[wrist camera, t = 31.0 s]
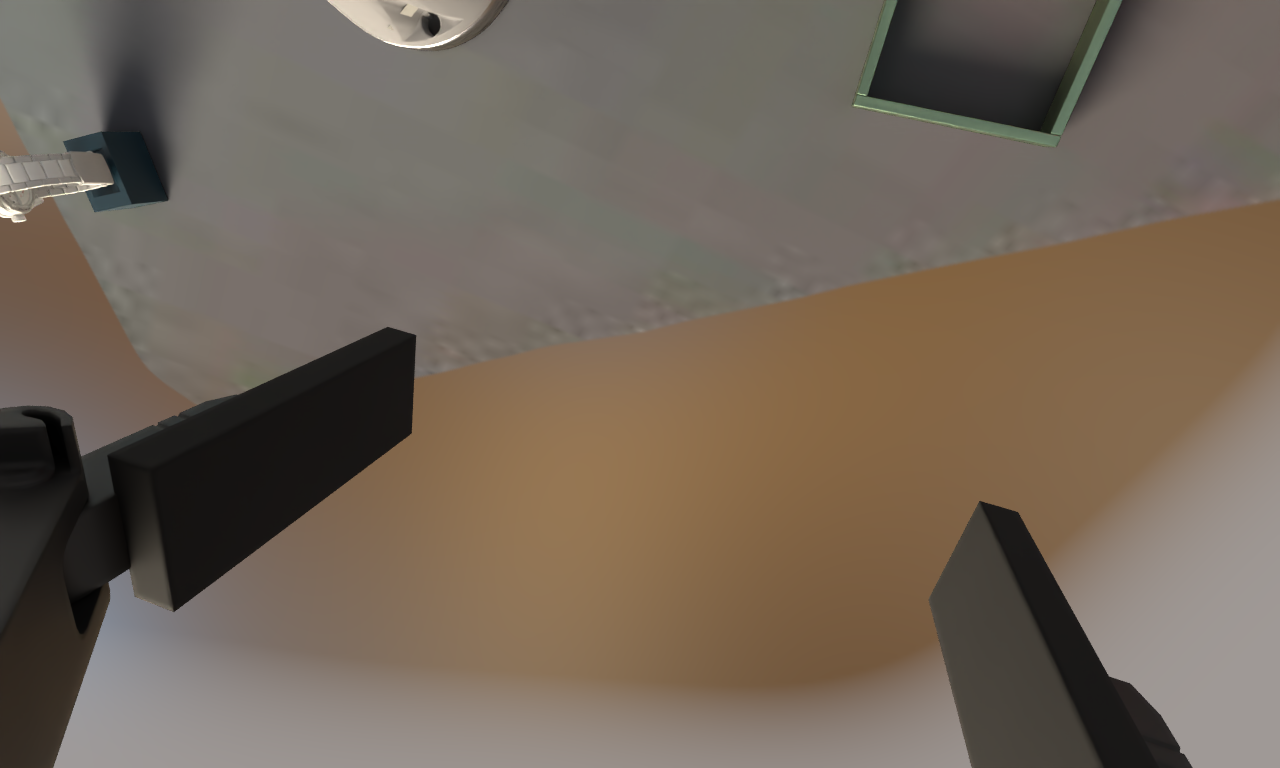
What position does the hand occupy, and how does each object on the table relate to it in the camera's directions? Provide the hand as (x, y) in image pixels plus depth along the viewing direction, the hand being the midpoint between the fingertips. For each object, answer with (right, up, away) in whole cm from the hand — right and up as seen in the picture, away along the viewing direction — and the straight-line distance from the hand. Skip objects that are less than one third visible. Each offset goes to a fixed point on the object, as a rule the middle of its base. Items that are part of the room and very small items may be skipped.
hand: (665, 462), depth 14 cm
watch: (-43, +20, +38) cm, 61 cm away
